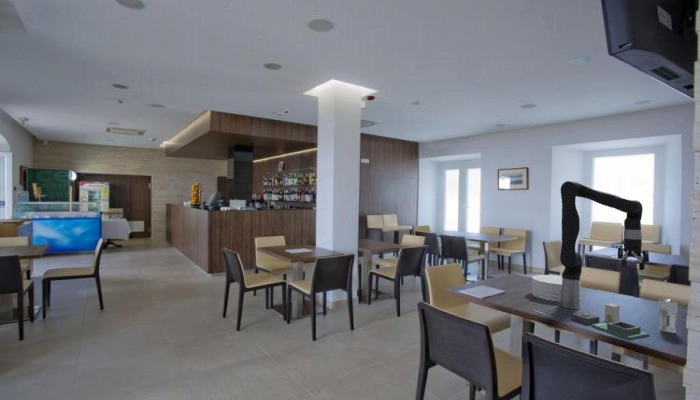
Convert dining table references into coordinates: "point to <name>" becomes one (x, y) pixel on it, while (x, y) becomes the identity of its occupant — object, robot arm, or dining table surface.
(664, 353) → the dining table surface
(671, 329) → the beer glass
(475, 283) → the dining table surface
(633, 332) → the board
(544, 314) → the butter knife
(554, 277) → the plate stack
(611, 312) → the plug
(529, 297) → the dining table surface
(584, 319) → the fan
